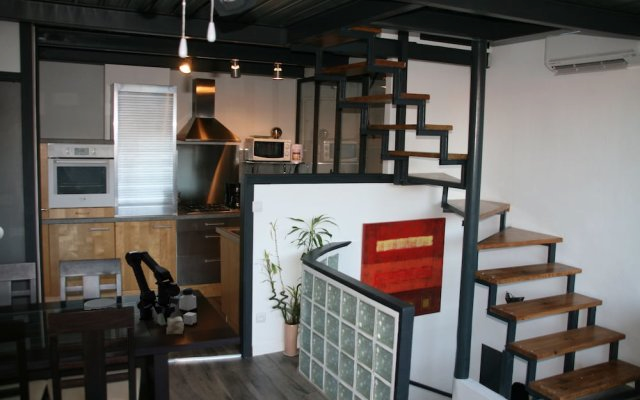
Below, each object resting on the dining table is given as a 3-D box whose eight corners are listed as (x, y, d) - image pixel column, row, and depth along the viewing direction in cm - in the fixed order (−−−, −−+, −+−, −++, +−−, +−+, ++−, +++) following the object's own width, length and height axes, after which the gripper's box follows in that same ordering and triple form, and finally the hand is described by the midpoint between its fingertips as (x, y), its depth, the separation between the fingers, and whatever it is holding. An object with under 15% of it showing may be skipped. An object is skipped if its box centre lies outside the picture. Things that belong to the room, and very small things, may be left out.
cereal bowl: (113, 308, 344) (113, 296, 344) (118, 316, 330) (117, 304, 329) (83, 312, 337) (82, 300, 336) (85, 320, 322) (85, 308, 321)
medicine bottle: (196, 307, 348) (196, 288, 347) (187, 310, 342) (187, 290, 341) (187, 305, 352) (187, 286, 351) (179, 308, 346) (178, 288, 345)
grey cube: (183, 323, 320) (183, 314, 320) (188, 320, 325) (188, 312, 325) (191, 324, 319) (191, 315, 318) (196, 322, 324) (196, 313, 323)
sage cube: (169, 323, 320) (169, 314, 320) (161, 325, 317) (161, 316, 317) (166, 321, 324) (166, 312, 324) (157, 322, 321) (157, 314, 321)
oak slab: (166, 334, 304) (166, 328, 303) (168, 329, 312) (168, 323, 311) (182, 334, 305) (182, 328, 305) (183, 329, 313) (183, 322, 312)
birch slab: (169, 328, 303) (169, 321, 303) (167, 324, 310) (167, 317, 309) (183, 326, 306) (182, 320, 306) (180, 322, 313) (180, 316, 312)
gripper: (184, 294, 316) (184, 322, 318) (170, 287, 331) (170, 313, 333) (164, 298, 309) (165, 326, 311) (151, 290, 324) (151, 317, 326)
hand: (163, 320), depth 321 cm, fingers open, 9 cm apart
